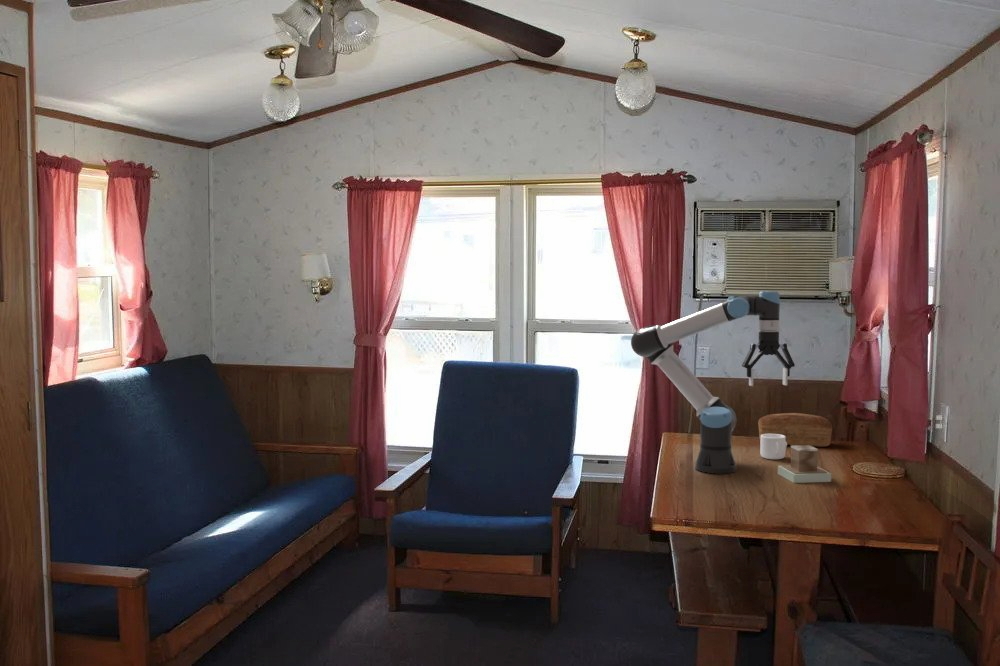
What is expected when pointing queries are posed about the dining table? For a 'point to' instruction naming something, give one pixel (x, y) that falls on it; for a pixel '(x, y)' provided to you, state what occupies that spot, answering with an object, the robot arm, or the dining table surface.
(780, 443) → the mug
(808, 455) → the block
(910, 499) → the dining table surface
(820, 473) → the base
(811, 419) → the bread
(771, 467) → the dining table surface
